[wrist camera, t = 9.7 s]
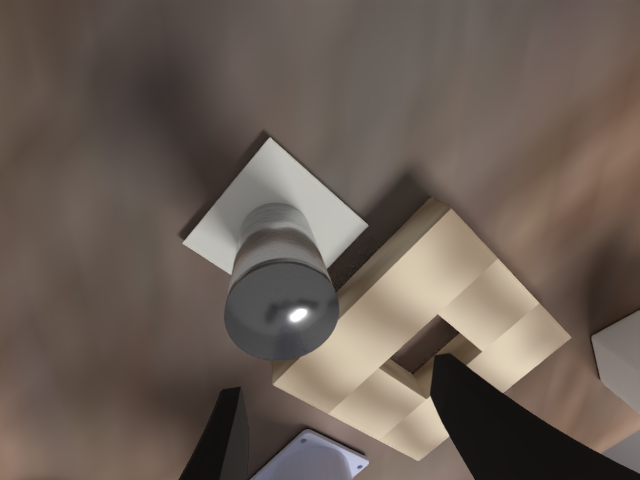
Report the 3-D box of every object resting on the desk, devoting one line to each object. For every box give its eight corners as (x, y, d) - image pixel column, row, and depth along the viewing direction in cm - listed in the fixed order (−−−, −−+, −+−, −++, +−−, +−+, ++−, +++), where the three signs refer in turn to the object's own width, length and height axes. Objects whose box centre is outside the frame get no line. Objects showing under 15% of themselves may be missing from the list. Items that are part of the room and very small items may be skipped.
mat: (286, 307, 22) (286, 310, 22) (184, 240, 19) (182, 243, 19) (366, 223, 21) (368, 225, 20) (269, 136, 18) (269, 137, 17)
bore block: (406, 433, 30) (418, 461, 27) (271, 357, 24) (272, 384, 21) (545, 317, 27) (571, 337, 24) (430, 196, 21) (451, 208, 18)
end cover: (285, 280, 21) (296, 375, 14) (224, 246, 19) (201, 333, 12) (325, 228, 20) (361, 299, 13) (266, 188, 18) (267, 243, 11)
